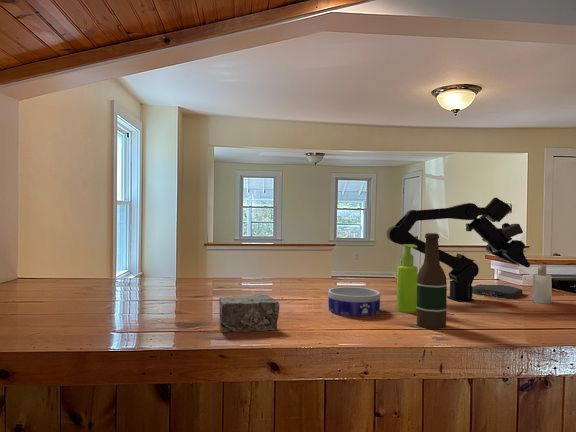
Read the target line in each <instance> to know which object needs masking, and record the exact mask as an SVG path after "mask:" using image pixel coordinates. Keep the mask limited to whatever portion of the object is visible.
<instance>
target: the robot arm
mask: <svg viewBox="0 0 576 432" xmlns="http://www.w3.org/2000/svg"><path fill="white" fill-rule="evenodd" d="M511 211H513V209H512V208H511V206H510V205H509V204H508V203H507V202H505V201H504V200H502V199H500V198H499V197H493V198H492V199H491V200H490V201H489V203H487V205H485V206H484V207H479V206H478V205H477V204H476V203H473V202H467V203H466V202H465V203H460V204H457V205H456V204H455V205H453V206H450V207H449V206H448V207H445V208H443V207H442V208H431V209H417V210H416V209H410V210H408V211H406V213H405V214H404V216H403V217H401V219H400V220H399V221H397V223H395V225H393V226H390V227H389V228H388V229H387V231H386V238H387V239H388V240H389V241H390V242H393V243H394V244H398V245H402V244H413V245H416V246H418V247H417V248H412V249H414V250H416V251H417V252H420V253H422V254H423V255H425V245H426V241H423V240H421V239H419V238H417V237H415V236H414V235H413V233H410V231H411V229H412V228H413V227H414V225H415V223H416V222H418V221H429V220H430V221H431V220H444V219H453V220H463V221H471V222H470V223H465V231H466V232H472V230H473V231H474V232H476V234H477V235H478V236H479V237H480V238H482V239H481V240H482V241H483V242H485V243H487V244H486V245H485V250H486V251H487V252H488V253H489V254H491V255H493V256H495V257H498V258H500V259H502V260H504V261H507V262H509V263H511V264H514V265H517V264H519V265H521V266H523V267H525V268H530V266H531V264H530V262H529V260H528V259H527V257H526V255H525V253H524V251H525V248H526V244H525V243H524V242H523V241H522V240H518V239H513V238H512V237H515V236H517V235H521V234H524V231H523V229H522V227H521V224H520V223H511V224H510V223H509V222H504V223H502V224H501V227H500V228H499V227H497V226H496V225H495V224H494V223H495V222H497V223H499V222H501V221H502V220H503V219H504V218H505V217H507V216H508V214H509V213H511ZM455 255H456V256H454V255H451V254H450V253H447V252H446V251H443V250H441V249H439V261H440V262H441V263H442V264H444V265H446V266H447V267H449V268H450V269H451V270H450V271H449V272H448V277H449V279H450V281H449V295H447V298H448V299H450V300H453V301H456V302H472V301H475V298H473V294H474V293H473V287H474V286H473V285H472V284H473V282H474V280H475V278H476V277H477V276H478V274H479V272H480V271H479V270H480V268H479V266H478V264H477V263H476V262H474V261H475V260H474V259H471V258H468V257H467V256H465V254H461V253H459V252H457V253H456V254H455Z"/></svg>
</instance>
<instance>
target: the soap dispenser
mask: <svg viewBox="0 0 576 432" xmlns="http://www.w3.org/2000/svg"><path fill="white" fill-rule="evenodd" d="M402 247H404V253H403V254H402V255H401V265H398V266H397V267H396V268H397V269H396V272H397V275H396V280H397V281H396V310H397V311H398V312H400V313H408V314H409V313H411V314H412V313H413V314H414V313H417V276H418V272H419V269H418V268H419V267H417V266H415V265H414V255H413V254H411V250H412V249H413V248H417V247H418V246H416V245H413V244H402Z"/></svg>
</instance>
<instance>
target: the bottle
mask: <svg viewBox="0 0 576 432" xmlns="http://www.w3.org/2000/svg"><path fill="white" fill-rule="evenodd" d="M552 280H553V279H552V275H551V274H547V265H546V264H538V265H537V273H533V274H532V294H531V295H532V296H531V297H532V299H531V300H532V303H536V304H543V305H546V304H547V305H548V304H552Z"/></svg>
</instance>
